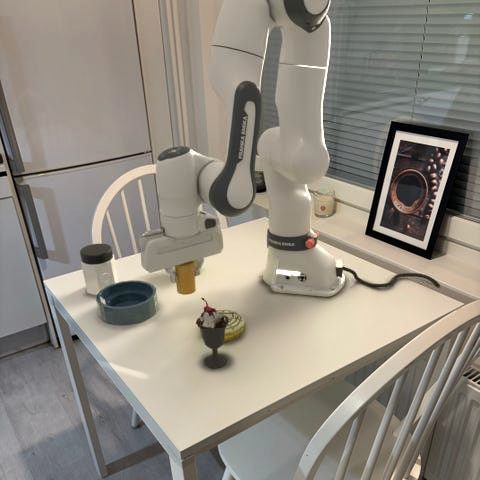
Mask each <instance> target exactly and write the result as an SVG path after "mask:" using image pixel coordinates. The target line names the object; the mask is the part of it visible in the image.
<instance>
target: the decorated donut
mask: <svg viewBox="0 0 480 480" xmlns="http://www.w3.org/2000/svg"><path fill="white" fill-rule="evenodd" d="M217 310H218V311H219V313H220V314H222V315H225V316H227V317H228V318H229V322H228V325H227V326H226V328H225V337H224V342H229V341H233V340H234V339H236V338H237V337H239V336H240V335H241V334H242V333H243V331H244V329H245V324H246V321H245V318H244V317H243V315H242V314H240V313H238V312H236V311H234V310H229V309H221V308H220V309H217ZM198 329H199V331H200V333H201V334H202V331H201V329H200V328H199V327H198Z"/></svg>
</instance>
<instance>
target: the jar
mask: <svg viewBox="0 0 480 480" xmlns="http://www.w3.org/2000/svg"><path fill="white" fill-rule="evenodd" d="M79 254H80V259H81V262H80V265H81V270H82V274H83V279H84V283H85V284H84V285H85V289H86V293H87V294H90V295H95V296H97V294H98V293H99V291H100V290H102V289H103V288H105V287H106V286H109V285H111V284H114V283H118V282H120V281H119V277H118V270H117V265H116V259H115V254H114V252H113V249H112V246H111V245H110V244H107V243H93V244H88V245H85V246H84V247H82V248H81V249H80V250H79Z"/></svg>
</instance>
